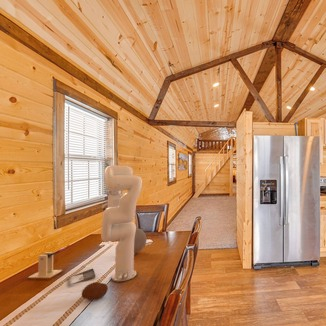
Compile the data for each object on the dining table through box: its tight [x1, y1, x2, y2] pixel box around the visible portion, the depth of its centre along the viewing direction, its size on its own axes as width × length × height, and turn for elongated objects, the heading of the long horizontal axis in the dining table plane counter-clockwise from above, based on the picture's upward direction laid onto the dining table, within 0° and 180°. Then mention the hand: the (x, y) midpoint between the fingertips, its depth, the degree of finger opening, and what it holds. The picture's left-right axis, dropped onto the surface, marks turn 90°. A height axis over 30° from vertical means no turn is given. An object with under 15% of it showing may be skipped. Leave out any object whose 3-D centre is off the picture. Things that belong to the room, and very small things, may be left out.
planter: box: [117, 227, 148, 254], centre depth 169 cm, size 18×7×19 cm, turn 114°
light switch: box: [70, 268, 96, 285], centre depth 130 cm, size 11×2×12 cm
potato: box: [81, 281, 109, 301], centre depth 112 cm, size 8×11×8 cm
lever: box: [47, 246, 67, 258], centre depth 134 cm, size 12×5×2 cm, turn 91°
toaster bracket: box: [27, 251, 63, 279], centre depth 134 cm, size 12×9×13 cm
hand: (115, 216), depth 163 cm, fingers open, 9 cm apart
